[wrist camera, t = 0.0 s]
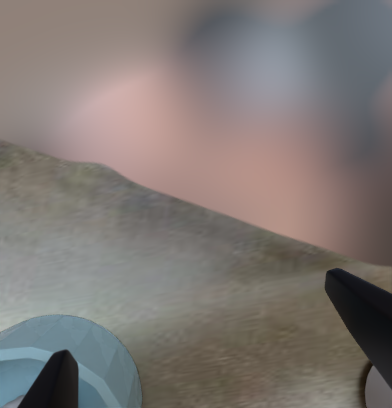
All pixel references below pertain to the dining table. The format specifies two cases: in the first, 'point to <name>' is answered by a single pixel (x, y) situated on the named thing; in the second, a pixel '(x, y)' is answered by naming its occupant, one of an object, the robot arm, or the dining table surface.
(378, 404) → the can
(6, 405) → the grey carved lump
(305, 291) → the dining table surface
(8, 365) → the pot
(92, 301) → the dining table surface
